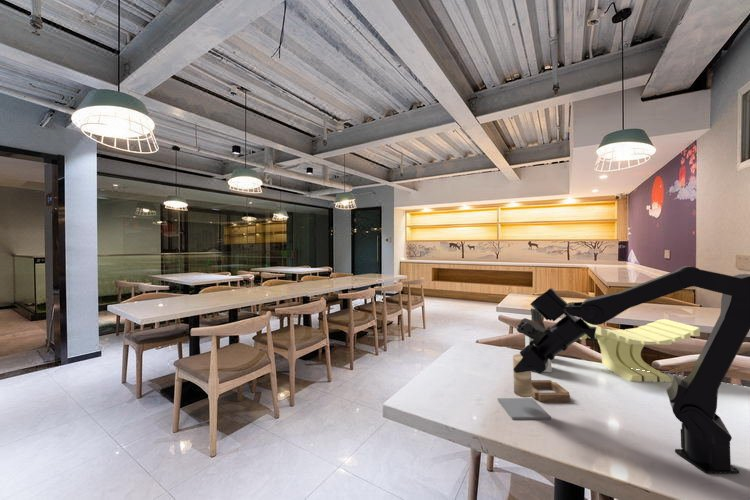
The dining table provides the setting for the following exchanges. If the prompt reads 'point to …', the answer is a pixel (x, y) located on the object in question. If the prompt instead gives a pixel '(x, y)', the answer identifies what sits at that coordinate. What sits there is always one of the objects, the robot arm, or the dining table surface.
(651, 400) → the dining table surface
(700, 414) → the robot arm
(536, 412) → the slate pad
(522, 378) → the oak peg
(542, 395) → the walnut frame
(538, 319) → the sauce bottle
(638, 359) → the slatted curved stool
